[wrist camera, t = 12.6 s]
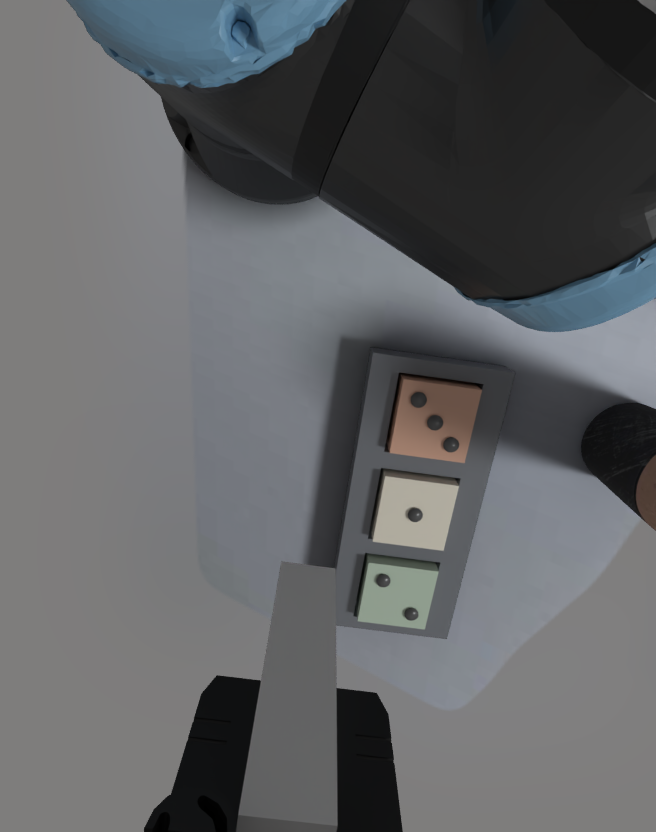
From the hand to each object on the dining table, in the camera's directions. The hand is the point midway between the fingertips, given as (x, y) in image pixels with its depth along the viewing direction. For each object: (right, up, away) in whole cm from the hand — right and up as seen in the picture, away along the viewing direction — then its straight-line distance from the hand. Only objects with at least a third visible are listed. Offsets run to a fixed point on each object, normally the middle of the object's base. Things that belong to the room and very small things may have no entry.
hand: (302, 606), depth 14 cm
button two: (+7, -9, +32) cm, 34 cm away
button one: (+8, -2, +30) cm, 31 cm away
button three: (+9, +6, +27) cm, 29 cm away
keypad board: (+8, -2, +30) cm, 31 cm away
